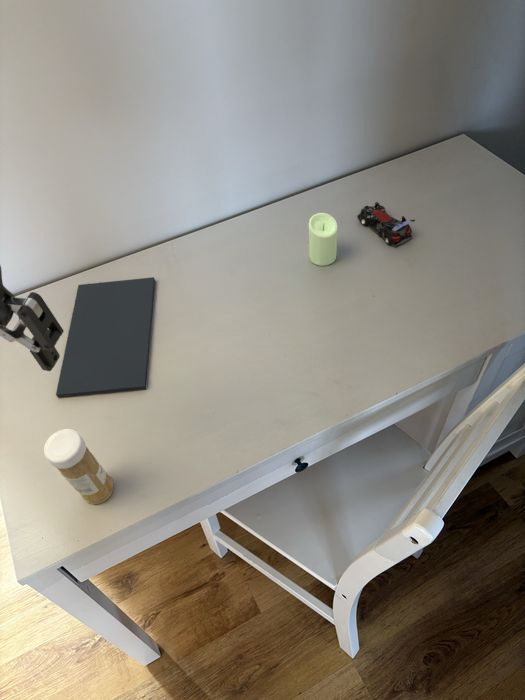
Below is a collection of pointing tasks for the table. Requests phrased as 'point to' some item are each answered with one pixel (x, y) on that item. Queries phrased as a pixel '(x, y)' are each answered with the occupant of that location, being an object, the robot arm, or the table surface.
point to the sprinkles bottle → (78, 465)
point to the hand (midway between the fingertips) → (17, 358)
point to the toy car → (385, 224)
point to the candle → (322, 239)
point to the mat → (108, 339)
